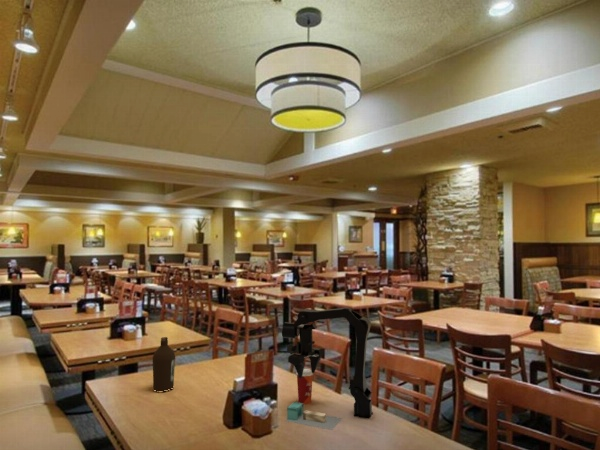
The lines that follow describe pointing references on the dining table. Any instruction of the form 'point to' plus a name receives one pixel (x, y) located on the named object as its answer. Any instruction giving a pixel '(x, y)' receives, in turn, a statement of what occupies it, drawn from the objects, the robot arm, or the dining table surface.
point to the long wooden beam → (314, 416)
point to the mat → (328, 424)
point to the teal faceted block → (294, 410)
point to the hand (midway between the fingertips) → (306, 375)
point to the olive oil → (163, 367)
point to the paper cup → (305, 386)
